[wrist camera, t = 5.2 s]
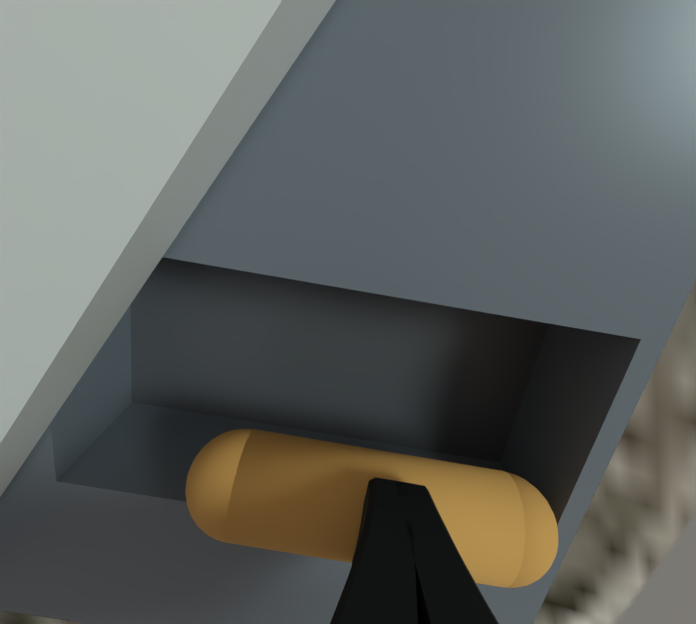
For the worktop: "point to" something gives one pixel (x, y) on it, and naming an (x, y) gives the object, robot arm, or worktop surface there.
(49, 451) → the gray storage bin
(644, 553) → the worktop surface
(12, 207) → the cover
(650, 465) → the worktop surface
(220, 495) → the tan capsule pill
